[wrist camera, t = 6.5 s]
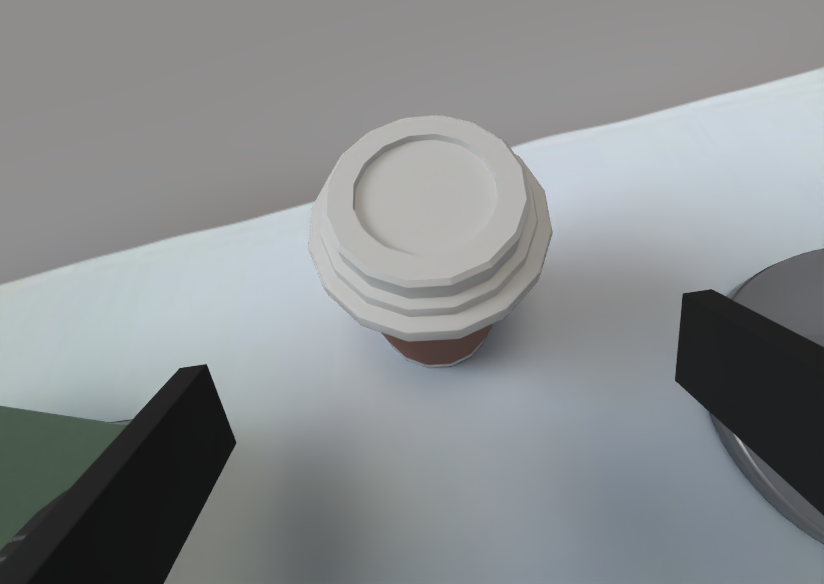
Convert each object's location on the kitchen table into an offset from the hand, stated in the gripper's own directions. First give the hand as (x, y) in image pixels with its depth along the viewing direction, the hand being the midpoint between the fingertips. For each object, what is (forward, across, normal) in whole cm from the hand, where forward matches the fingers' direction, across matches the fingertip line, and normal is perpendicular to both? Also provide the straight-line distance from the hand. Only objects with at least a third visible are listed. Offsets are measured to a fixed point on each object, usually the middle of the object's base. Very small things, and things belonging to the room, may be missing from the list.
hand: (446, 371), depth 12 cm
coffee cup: (+13, 0, -4) cm, 13 cm away
